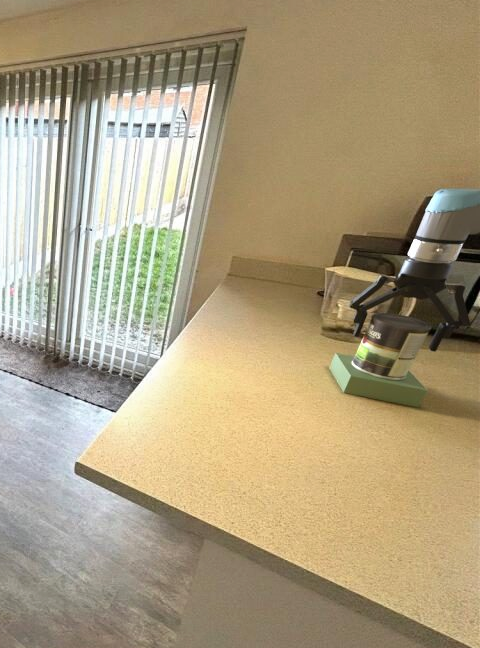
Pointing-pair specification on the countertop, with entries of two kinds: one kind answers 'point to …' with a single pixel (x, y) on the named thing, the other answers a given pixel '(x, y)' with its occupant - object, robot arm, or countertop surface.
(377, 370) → the coffee can
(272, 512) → the countertop surface
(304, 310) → the countertop surface
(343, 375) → the riser block
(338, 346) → the countertop surface
